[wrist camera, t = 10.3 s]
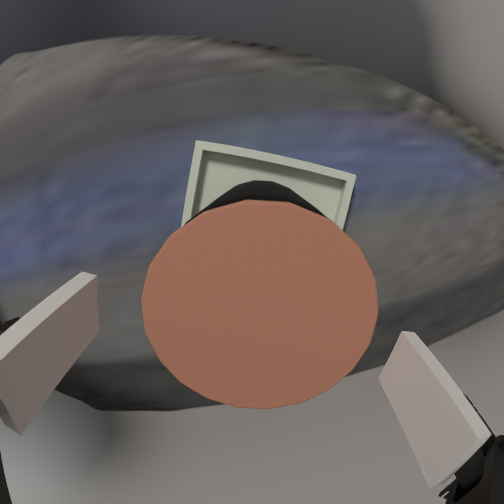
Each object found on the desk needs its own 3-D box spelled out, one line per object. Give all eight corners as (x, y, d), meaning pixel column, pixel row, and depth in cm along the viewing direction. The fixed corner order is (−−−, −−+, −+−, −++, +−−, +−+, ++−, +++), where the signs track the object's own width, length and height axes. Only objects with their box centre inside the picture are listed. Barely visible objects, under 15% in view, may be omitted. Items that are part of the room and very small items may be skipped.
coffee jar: (297, 290, 31) (331, 418, 14) (200, 270, 31) (139, 385, 13) (323, 193, 28) (412, 235, 11) (218, 169, 28) (152, 175, 10)
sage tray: (177, 284, 32) (173, 290, 30) (200, 141, 27) (196, 140, 26) (313, 310, 32) (315, 318, 30) (350, 174, 28) (356, 175, 26)
